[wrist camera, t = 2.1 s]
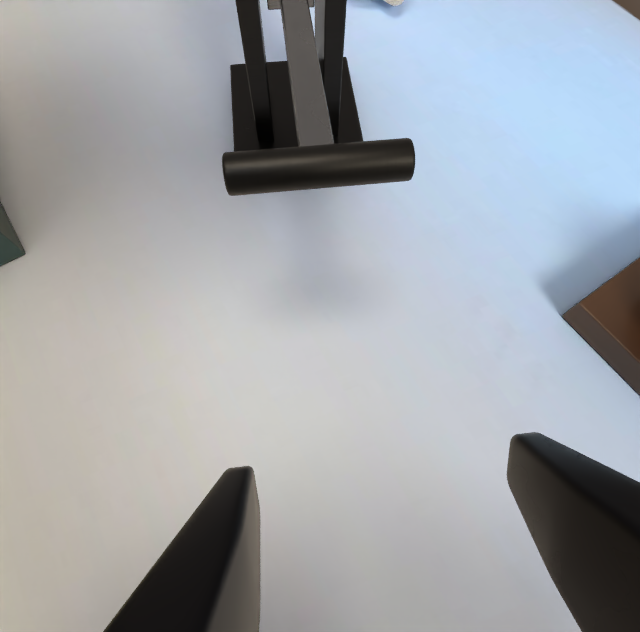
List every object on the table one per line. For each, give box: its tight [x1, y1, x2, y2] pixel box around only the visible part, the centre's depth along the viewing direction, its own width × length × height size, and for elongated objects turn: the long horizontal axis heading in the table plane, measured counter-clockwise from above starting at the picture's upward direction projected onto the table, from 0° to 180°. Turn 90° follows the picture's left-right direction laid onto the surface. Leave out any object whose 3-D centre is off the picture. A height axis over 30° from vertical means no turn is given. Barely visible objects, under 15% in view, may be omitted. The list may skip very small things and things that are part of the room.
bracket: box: [230, 0, 363, 152], centre depth 23 cm, size 10×8×11 cm
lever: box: [222, 0, 415, 196], centre depth 17 cm, size 15×6×2 cm, turn 6°
